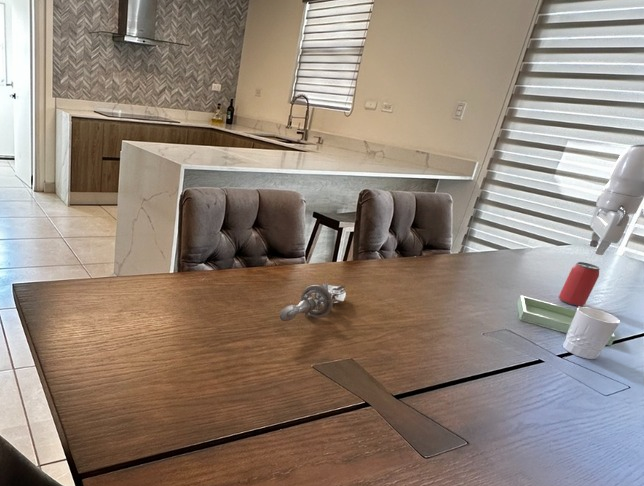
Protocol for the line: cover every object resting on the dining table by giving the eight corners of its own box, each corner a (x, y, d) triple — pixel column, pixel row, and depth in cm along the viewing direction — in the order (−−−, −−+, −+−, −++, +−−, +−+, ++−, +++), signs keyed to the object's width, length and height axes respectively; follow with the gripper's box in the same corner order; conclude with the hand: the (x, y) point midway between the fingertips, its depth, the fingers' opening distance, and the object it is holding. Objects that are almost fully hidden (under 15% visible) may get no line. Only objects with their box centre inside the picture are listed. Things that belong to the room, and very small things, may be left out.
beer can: (563, 304, 140) (581, 267, 135) (553, 295, 145) (570, 259, 141) (588, 308, 138) (607, 271, 134) (577, 300, 144) (595, 263, 140)
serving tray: (600, 325, 128) (604, 317, 126) (610, 346, 116) (615, 337, 115) (517, 303, 136) (520, 295, 135) (519, 320, 125) (523, 311, 124)
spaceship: (262, 298, 100) (296, 297, 95) (327, 275, 127) (356, 274, 122) (266, 335, 100) (300, 336, 95) (330, 304, 127) (359, 304, 122)
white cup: (596, 350, 113) (616, 314, 109) (603, 365, 107) (623, 326, 103) (557, 339, 116) (575, 303, 113) (561, 352, 110) (580, 315, 106)
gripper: (642, 212, 120) (616, 262, 126) (623, 200, 137) (601, 245, 142) (612, 206, 123) (588, 255, 128) (597, 195, 139) (576, 239, 145)
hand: (595, 250), depth 135 cm, fingers open, 8 cm apart
